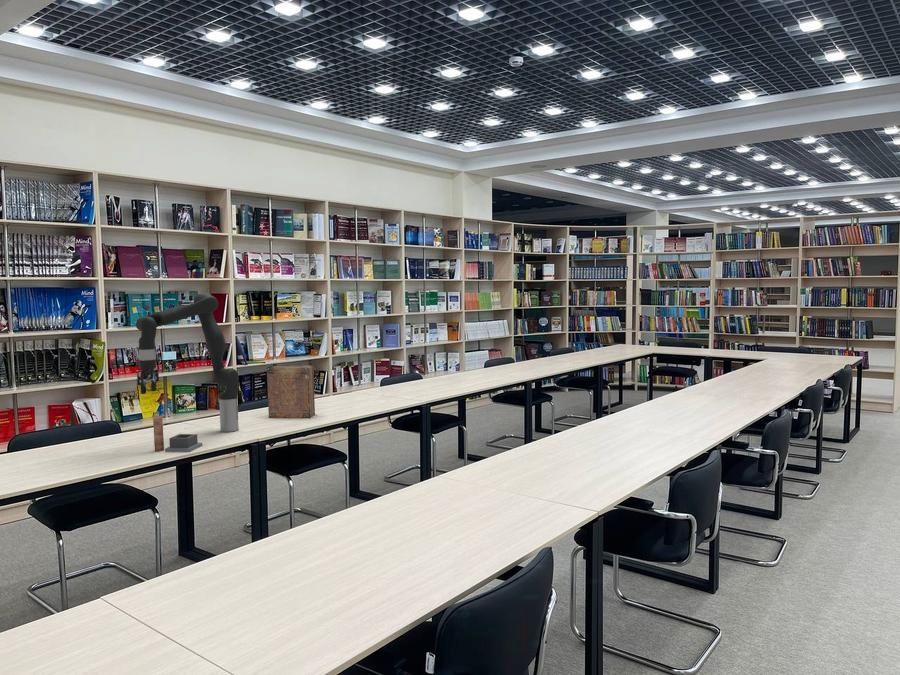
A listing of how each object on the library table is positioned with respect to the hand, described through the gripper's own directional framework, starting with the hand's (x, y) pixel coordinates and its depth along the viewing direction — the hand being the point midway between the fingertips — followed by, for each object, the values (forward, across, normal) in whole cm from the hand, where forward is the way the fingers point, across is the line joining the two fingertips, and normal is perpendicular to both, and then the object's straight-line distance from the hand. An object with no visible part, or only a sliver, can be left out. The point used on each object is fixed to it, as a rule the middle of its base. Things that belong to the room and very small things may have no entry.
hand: (148, 392), depth 305 cm
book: (+26, -76, +43) cm, 91 cm away
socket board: (+26, +2, +18) cm, 32 cm away
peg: (+27, +6, +8) cm, 28 cm away
